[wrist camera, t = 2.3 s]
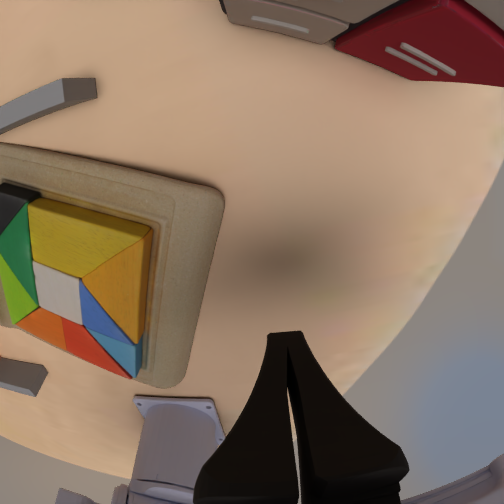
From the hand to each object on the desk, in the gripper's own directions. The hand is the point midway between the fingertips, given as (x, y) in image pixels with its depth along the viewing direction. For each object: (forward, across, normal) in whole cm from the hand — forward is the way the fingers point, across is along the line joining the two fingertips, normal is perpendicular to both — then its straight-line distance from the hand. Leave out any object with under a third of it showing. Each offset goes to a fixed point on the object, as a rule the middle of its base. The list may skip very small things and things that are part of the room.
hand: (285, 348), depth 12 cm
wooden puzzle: (+8, +14, 0) cm, 16 cm away
